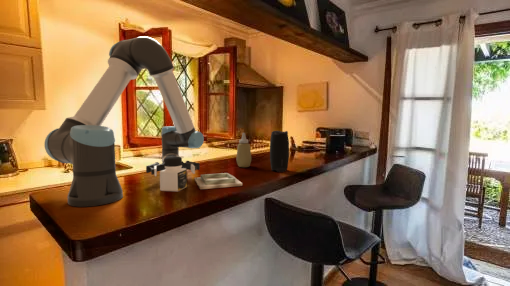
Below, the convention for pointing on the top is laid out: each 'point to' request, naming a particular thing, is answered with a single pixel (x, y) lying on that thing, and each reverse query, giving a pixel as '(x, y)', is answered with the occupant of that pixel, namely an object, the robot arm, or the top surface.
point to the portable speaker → (279, 151)
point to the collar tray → (217, 181)
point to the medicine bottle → (173, 175)
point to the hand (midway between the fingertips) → (175, 171)
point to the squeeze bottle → (243, 152)
